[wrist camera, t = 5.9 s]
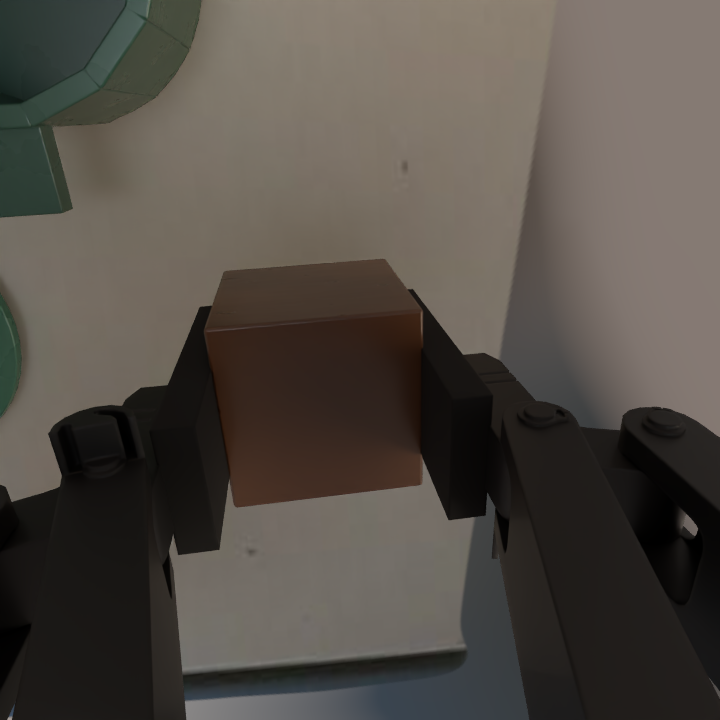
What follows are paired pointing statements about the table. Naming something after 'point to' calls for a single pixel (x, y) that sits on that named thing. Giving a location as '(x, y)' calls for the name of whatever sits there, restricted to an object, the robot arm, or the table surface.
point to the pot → (76, 81)
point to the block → (317, 380)
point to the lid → (8, 357)
